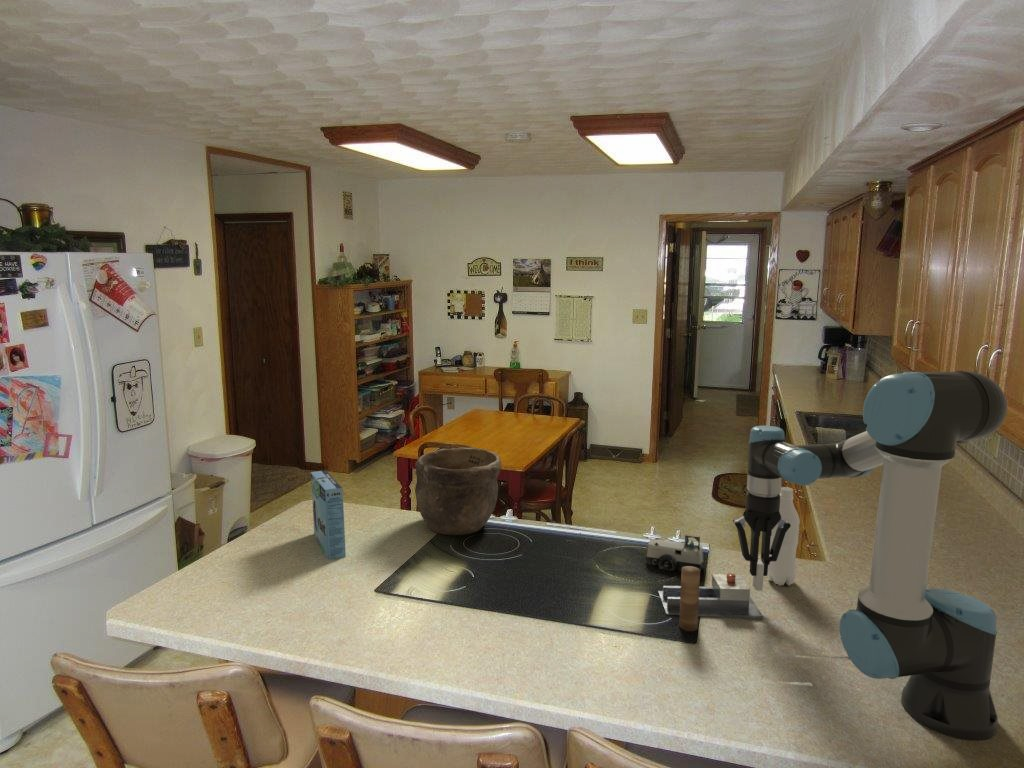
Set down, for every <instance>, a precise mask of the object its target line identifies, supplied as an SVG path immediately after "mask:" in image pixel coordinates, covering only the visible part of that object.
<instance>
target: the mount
mask: <svg viewBox="0 0 1024 768" xmlns="http://www.w3.org/2000/svg"><path fill="white" fill-rule="evenodd" d="M658 594H659V597H660V601H661V603H662V606H663V609H664V611H665V612H664V613H665V614H666V615H667V616H679V617H680V594H681V585H663V586H662V590H658ZM699 617H701V618H703V617H704V618H720V619H721V618H722V619H741V620H757V621H759V620H760V621H762V620H764V618H763V617H764V615H763V614H762V612H761V611H760V609H759V608H758V607H757V605H756V603H755V601H754V600H753V598H752V596H750V601H741V600H720V599H719V597H718V596H717V594H716V592H715V590H714V588H713V586H699V606H698V618H699Z"/></svg>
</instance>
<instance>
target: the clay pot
mask: <svg viewBox="0 0 1024 768" xmlns="http://www.w3.org/2000/svg"><path fill="white" fill-rule="evenodd" d="M414 465H415V475H416V477H417V480H416V484H415V487H414V493H415V499H416V505H417V508H418V510H419V513H420V515H421V517H422V519H423V521H424V522H425V524H426V526H427V527H428V528H429V529H430V530H431V531H432V532H435V533H437V534H441V535H446V536H447V535H448V536H465V535H469V534H474V533H476V532H479V531H480V530H481V529H482V528H483V527H484V526H485V525H486V524H487V523H488V521H489V519H490V518H491V516H492V515H493V513H494V511H495V508H496V505H497V501H498V493H499V484H498V481H497V480H498V477H499V475H500V474H501V468H502V461H501V457H500V456H499V455H498V454H497V453H494V452H493V451H490V450H488V449H482V448H478V447H458V448H456V447H455V448H454V447H452V448H440V449H437V450H434V451H431V452H427V453H425V454H423V455H420V456H419V458H417V460H416V462H415V463H414Z"/></svg>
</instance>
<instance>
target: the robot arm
mask: <svg viewBox="0 0 1024 768" xmlns="http://www.w3.org/2000/svg"><path fill="white" fill-rule="evenodd" d="M862 409H863V410H862V418H863V419H862V420H863V423H864V425H866V426H865V427H866V428H865V431H863V432H861V433H858V434H856V435H854V436H851V437H849V438H847V439H845V440H842V441H841V442H837V443H820V444H798V445H796V444H792V443H788V442H786V437H785V431H784V429H783V428H781V427H779V426H773V425H756V426H753V427H752V428H751V429H750V434H749V441H748V458H747V479H746V489H747V492H746V496H745V509H744V511H743V513H742V516H741V517H739V518H733V520H732V522H733V524H734V526H735V527H736V529H737V534H738V538H739V539H738V540H739V546H740V550H741V554H742V557H743V558H744V560H745V561H747V562H750V563H749V573H750V575H751V576H753V577H752V579H753V580H752V586H753V588H754V589H755V591H758V592H759V591H761V592H762V591H763V590H764V589H763V586H764V577H768V576H767V574H768V565H769V564H770V562H771V561H776V560H777V558H778V555H779V552H780V549H781V546H782V542H783V539H784V536H785V533H786V532H787V530H788V529H789V528H790V526H791V525H790V523H789V522H788V521H787V520H784V519H782V518H781V515H780V512H779V510H780V493H781V488H782V479H783V480H785V481H787V482H789V483H791V484H794V485H798V486H803V487H804V486H810V485H811V484H813V483H815V482H817V480H824V479H825V480H826V479H836V478H837V479H839V478H859V477H863V476H864V477H865V476H868V475H870V474H871V473H872V471H873V470H874V469H875V468H878V467H880V466H881V467H882V473H881V481H880V487H879V488H880V490H879V499H878V504H877V505H878V507H877V515H876V524H875V531H874V540H873V541H874V542H873V550H872V557H871V565H870V566H871V567H870V575H869V583H868V585H866V586H865V587H863V588H861V589H860V590H859V591H858V593H857V604H856V608H855V609H851V608H850V609H849V610H848V611H846V612H845V613H843V614H842V615H841V617H840V620H839V626H838V627H839V636H840V639H841V643H842V646H843V648H844V650H845V652H846V654H847V657H848V658H849V660H850V661H851V663H852V664H853V666H855V667H856V669H858V671H859V672H861V673H862V674H863V675H864V676H866V677H868V678H871V679H875V680H882V679H890V680H896V679H897V678H902V677H908V680H907V682H906V684H905V686H904V687H903V689H902V691H901V697H900V701H901V705H902V707H903V709H904V710H905V712H906V714H908V715H909V716H910V717H911V718H912V719H914V720H915V721H916V722H918V723H919V724H920V725H922V726H923V727H926V728H928V729H930V730H932V731H934V732H935V733H938V734H941V735H943V736H947V737H949V738H950V737H951V738H954V739H958V740H962V741H971V742H972V741H974V742H978V741H979V742H980V741H987V740H989V739H992V738H993V737H995V735H996V734H997V731H998V724H999V722H998V721H999V720H998V715H997V710H996V707H995V704H994V700H993V695H992V693H991V687H990V686H991V677H992V669H993V662H994V656H995V655H994V653H995V647H996V640H997V639H996V638H997V634H998V631H997V615H996V613H995V611H994V610H993V609H992V607H990V606H989V605H987V604H986V603H985V602H982V601H981V600H979V599H977V598H975V597H972V596H970V595H966V594H964V593H961V592H958V591H954V590H949V589H946V588H945V589H944V588H935V587H933V588H927V581H928V576H929V575H928V574H929V567H930V558H931V552H932V551H931V550H932V545H933V537H934V531H935V530H934V528H935V522H936V517H937V516H936V515H937V508H938V507H937V506H938V500H939V491H940V485H941V478H942V477H941V476H942V470H943V467H944V466H945V465H946V464H949V463H950V462H951V461H953V460H954V459H955V455H956V450H957V449H956V446H957V445H962V444H965V443H969V442H971V441H975V440H979V439H982V438H985V437H988V436H990V435H991V434H993V433H995V432H996V431H997V430H998V429H1000V427H1001V426H1002V425H1003V423H1004V421H1005V419H1006V417H1007V413H1008V399H1007V397H1006V395H1005V392H1004V391H1003V389H1002V388H1001V386H999V384H998V383H997V382H996V381H994V380H993V379H992V378H991V377H989V376H986V375H984V374H982V373H979V372H975V371H970V370H956V371H906V372H903V373H894V374H889V375H885V376H884V377H881V378H880V379H879V381H876V383H875V384H873V386H872V387H871V388H870V390H869V391H868V392H867V395H866V397H865V400H864V403H863V408H862ZM746 523H747V525H748V526H749V528H750V532H751V533H750V534H751V535H750V547H749V545H748V539H747V534H746V531H745V527H746ZM777 523H778V528H777V530H776V534H775V537H774V540H773V543H772V546H771V549H770V538H771V534H772V529H773V528H774V527H775V526H776V525H777ZM760 537H761V545H760ZM760 546H761V547H760ZM759 548H760V549H761V550H760V559H759ZM749 549H750V550H749Z"/></svg>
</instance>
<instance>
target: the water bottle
mask: <svg viewBox="0 0 1024 768" xmlns="http://www.w3.org/2000/svg"><path fill="white" fill-rule="evenodd" d="M779 495H780V510H779V512H780V515H781V518H782V519H784V520H787V521H788V522H789V523H790V525H791V526H790V528H789V529H788V530H787V532H786V533H785V536H784V539H783V542H782V546H781V549H780V552H779V555H778V558H777V560H776V561H771V562H770V564H769V565H768V574H767V576H766V577H767V579H768V580H770V581H773V582H774V585H776V584H778V585H777V586H779V585H783V586H784V585H787V584H788V585H787V586H791V584H793V583H794V582H795V580H796V578H797V563H796V561H797V560H796V557H797V556H796V555H797V548H798V544H799V533H800V530H799V529H800V524H801V523H800V522H801V520H800V516H799V514H798V511H797V509H796V507H795V505H794V501H793V500H795V499H794V489H793V488H792V487H787V486H781V493H779ZM777 528H778V523H777V525H776V526H775V527H774V528H773V529H772V534H771V538H770V549H771V546H772V543H773V540H774V537H775V534H776V530H777ZM770 581H769V582H770Z"/></svg>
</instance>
